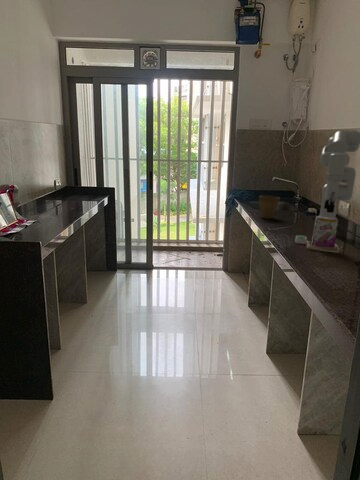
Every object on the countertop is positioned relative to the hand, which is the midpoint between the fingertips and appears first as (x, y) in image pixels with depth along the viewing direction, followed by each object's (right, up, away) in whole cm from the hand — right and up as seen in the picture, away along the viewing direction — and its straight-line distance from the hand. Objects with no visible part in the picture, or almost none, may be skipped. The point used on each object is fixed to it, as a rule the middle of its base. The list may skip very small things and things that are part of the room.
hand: (328, 210), depth 189 cm
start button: (-10, -16, +15) cm, 24 cm away
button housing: (-10, -17, +15) cm, 25 cm away
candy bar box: (-1, -20, +5) cm, 20 cm away
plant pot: (-13, +1, +80) cm, 81 cm away
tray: (-2, -20, +5) cm, 21 cm away
